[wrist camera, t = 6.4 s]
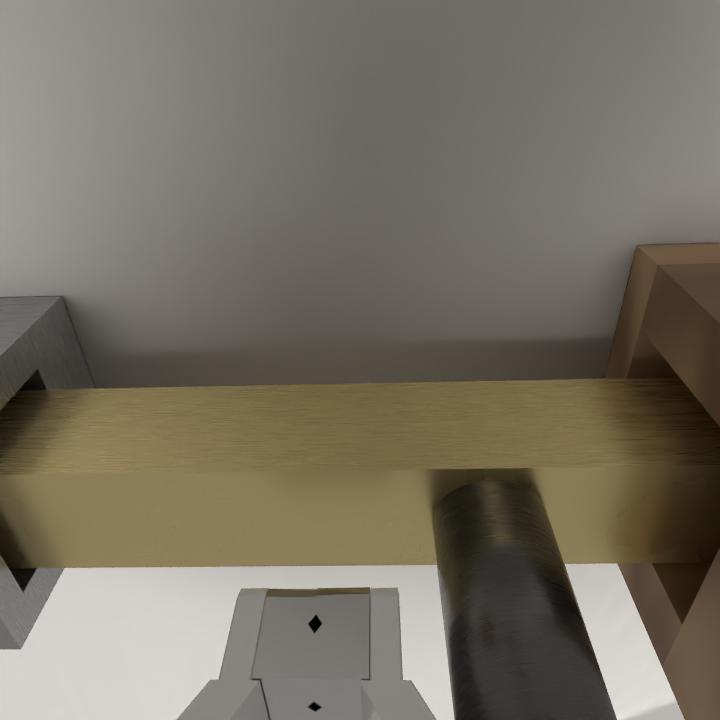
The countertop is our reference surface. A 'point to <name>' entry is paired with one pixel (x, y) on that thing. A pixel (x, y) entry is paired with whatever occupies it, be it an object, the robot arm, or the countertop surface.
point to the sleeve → (3, 379)
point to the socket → (716, 394)
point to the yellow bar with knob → (384, 500)
